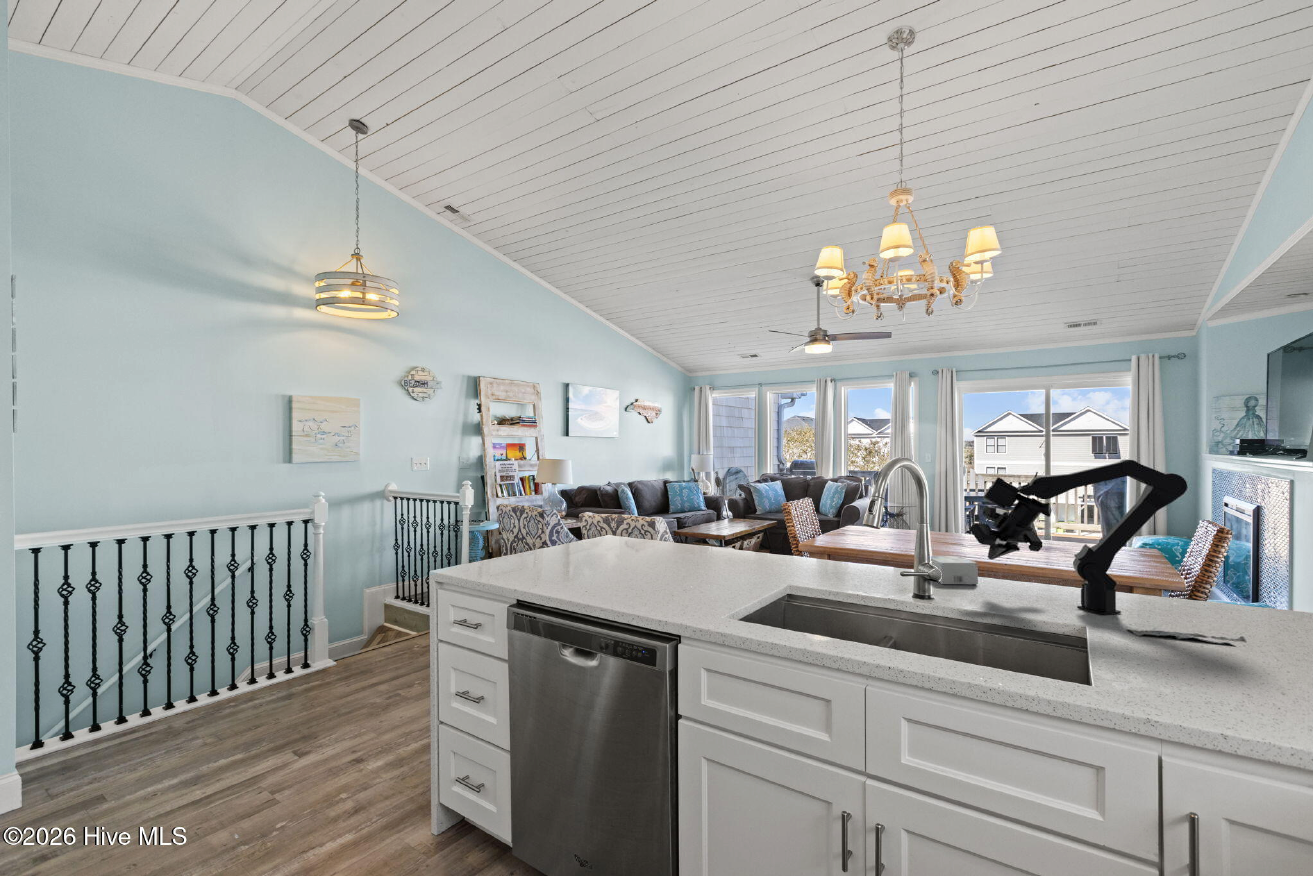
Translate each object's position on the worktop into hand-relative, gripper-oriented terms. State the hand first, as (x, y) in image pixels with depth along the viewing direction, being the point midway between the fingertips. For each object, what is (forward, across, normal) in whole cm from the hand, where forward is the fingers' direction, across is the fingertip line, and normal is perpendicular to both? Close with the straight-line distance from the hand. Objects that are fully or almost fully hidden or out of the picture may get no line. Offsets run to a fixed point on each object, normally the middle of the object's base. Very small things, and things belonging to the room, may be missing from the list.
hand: (989, 558), depth 166 cm
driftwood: (-18, -15, +38) cm, 45 cm away
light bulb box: (+11, +1, -4) cm, 12 cm away
